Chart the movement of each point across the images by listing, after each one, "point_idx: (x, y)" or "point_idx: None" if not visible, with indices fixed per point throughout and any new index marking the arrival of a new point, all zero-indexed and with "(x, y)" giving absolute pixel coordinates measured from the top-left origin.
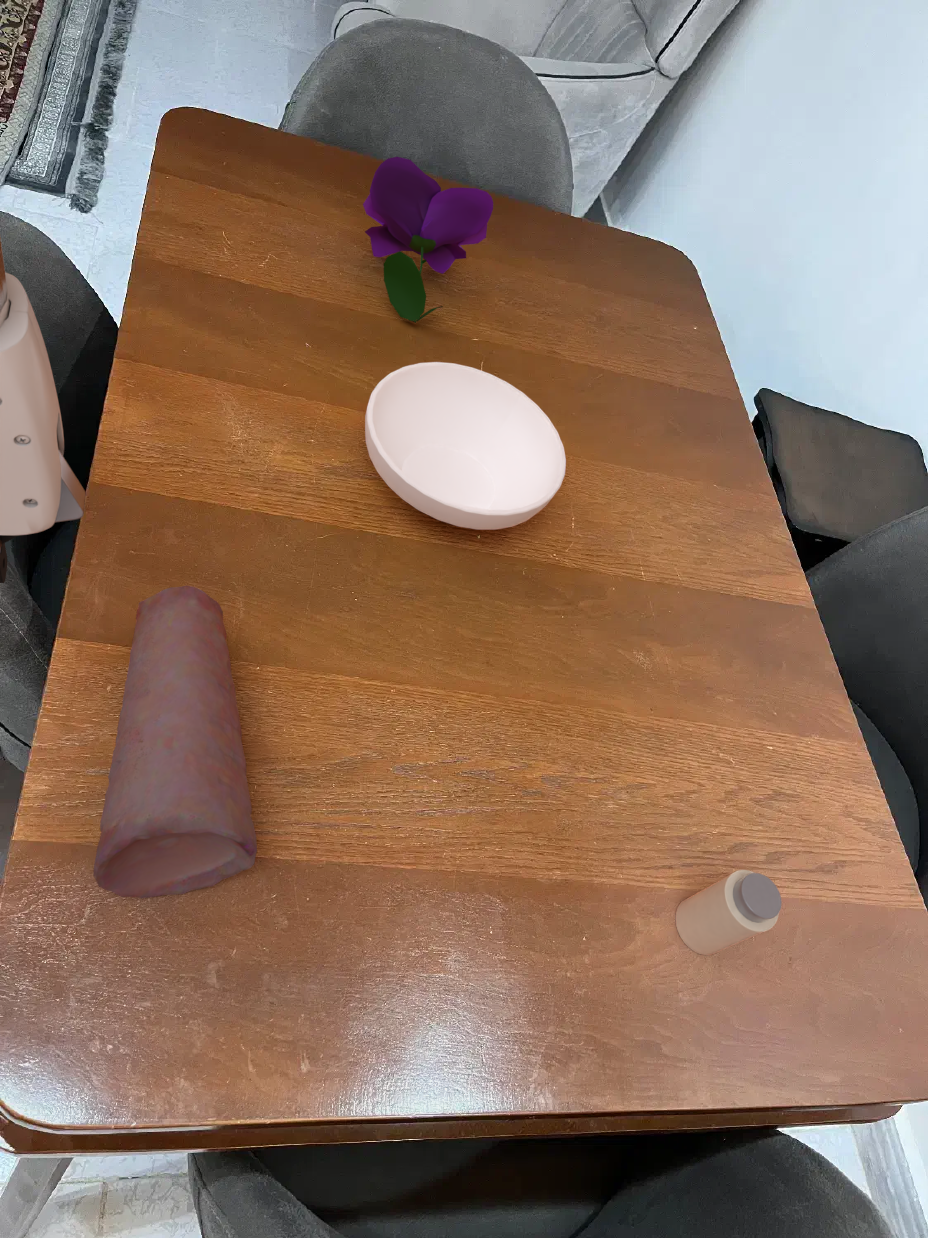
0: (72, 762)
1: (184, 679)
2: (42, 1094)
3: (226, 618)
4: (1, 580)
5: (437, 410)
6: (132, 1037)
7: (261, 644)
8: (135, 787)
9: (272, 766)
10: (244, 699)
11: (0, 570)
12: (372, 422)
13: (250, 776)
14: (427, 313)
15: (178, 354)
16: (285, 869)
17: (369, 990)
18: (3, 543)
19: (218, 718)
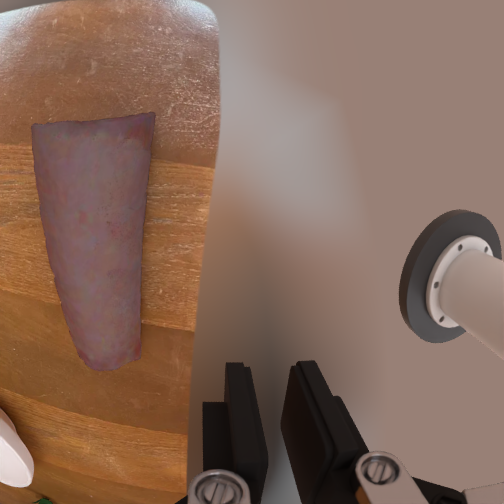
0: (182, 229)
1: (79, 284)
2: (200, 11)
3: None
4: (204, 407)
5: (7, 458)
6: (146, 33)
7: (61, 321)
8: (109, 173)
9: None
10: None
11: (203, 428)
12: (22, 463)
13: None
14: (37, 501)
15: (157, 496)
16: None
17: (12, 63)
18: (187, 495)
19: (51, 244)
